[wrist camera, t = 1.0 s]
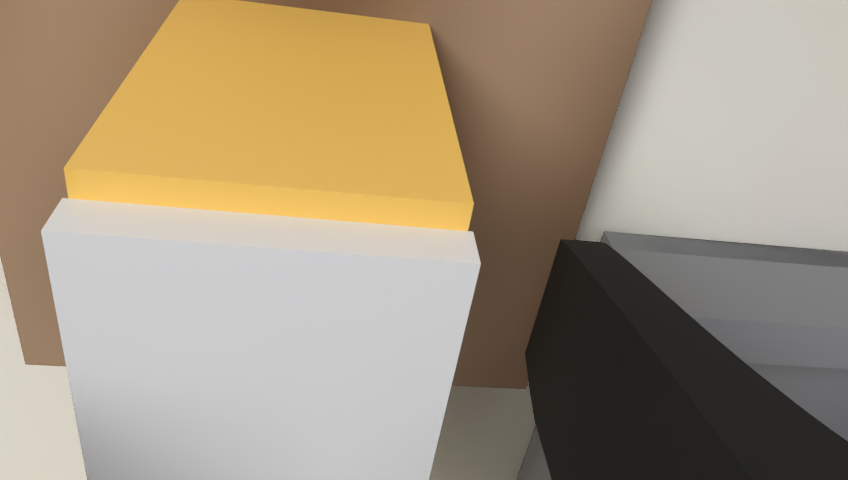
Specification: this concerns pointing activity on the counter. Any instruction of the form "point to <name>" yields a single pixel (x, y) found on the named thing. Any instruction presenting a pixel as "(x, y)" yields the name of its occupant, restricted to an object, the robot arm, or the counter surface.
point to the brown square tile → (470, 107)
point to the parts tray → (753, 315)
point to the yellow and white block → (266, 252)
